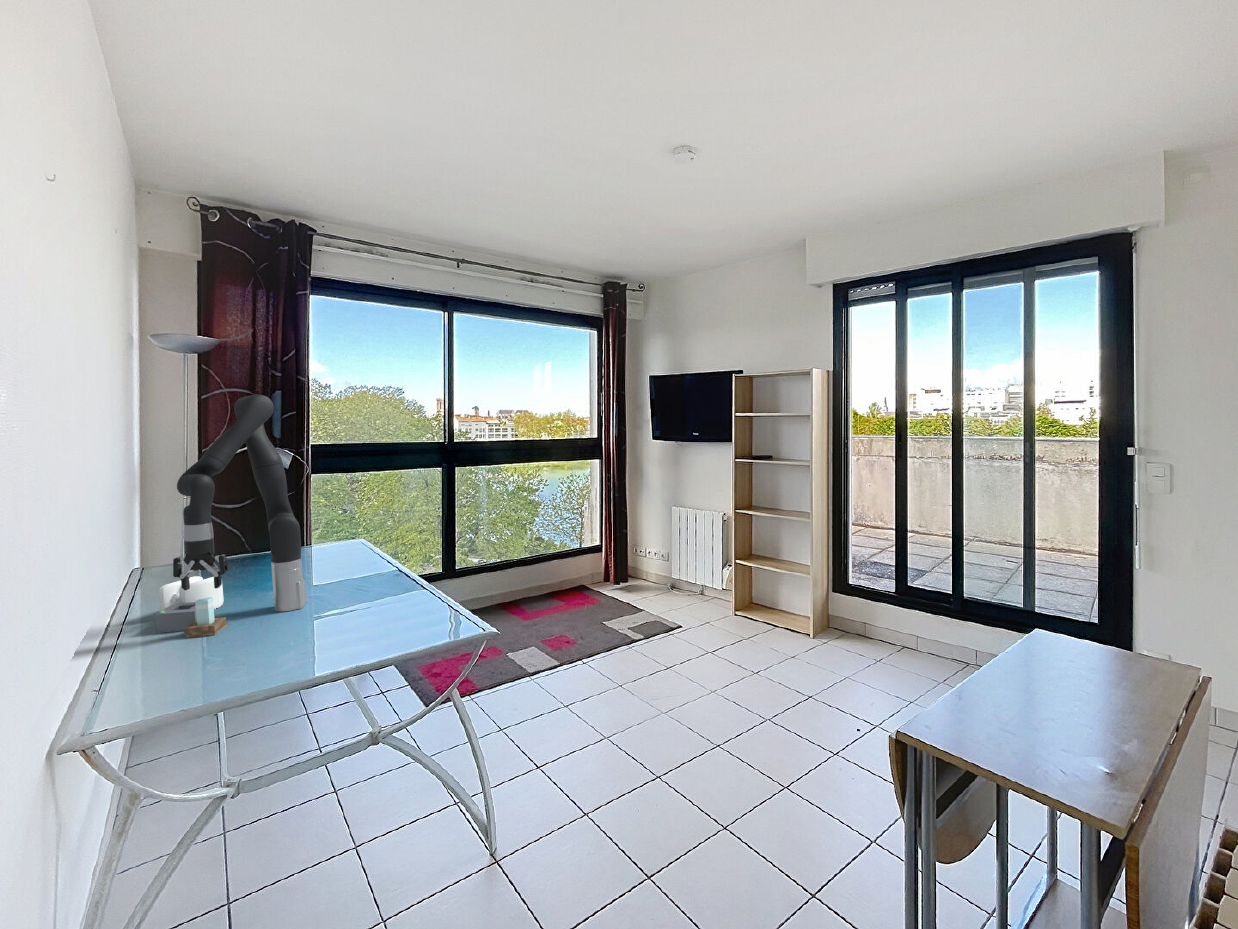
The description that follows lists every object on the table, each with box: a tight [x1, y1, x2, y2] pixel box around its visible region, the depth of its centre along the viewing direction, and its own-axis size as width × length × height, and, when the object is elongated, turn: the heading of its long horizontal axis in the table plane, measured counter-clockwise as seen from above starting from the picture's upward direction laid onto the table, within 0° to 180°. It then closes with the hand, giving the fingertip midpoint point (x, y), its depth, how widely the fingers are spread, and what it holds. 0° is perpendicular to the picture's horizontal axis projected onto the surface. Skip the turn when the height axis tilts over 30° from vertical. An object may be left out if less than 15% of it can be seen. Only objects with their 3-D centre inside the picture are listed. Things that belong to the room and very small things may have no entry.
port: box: [154, 602, 197, 634], centre depth 189 cm, size 11×11×6 cm
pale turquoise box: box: [195, 597, 216, 625], centre depth 182 cm, size 4×4×10 cm
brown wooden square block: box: [184, 616, 227, 639], centre depth 182 cm, size 8×8×3 cm
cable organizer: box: [158, 575, 225, 612], centre depth 201 cm, size 15×11×12 cm
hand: (202, 588), depth 181 cm, fingers open, 8 cm apart
